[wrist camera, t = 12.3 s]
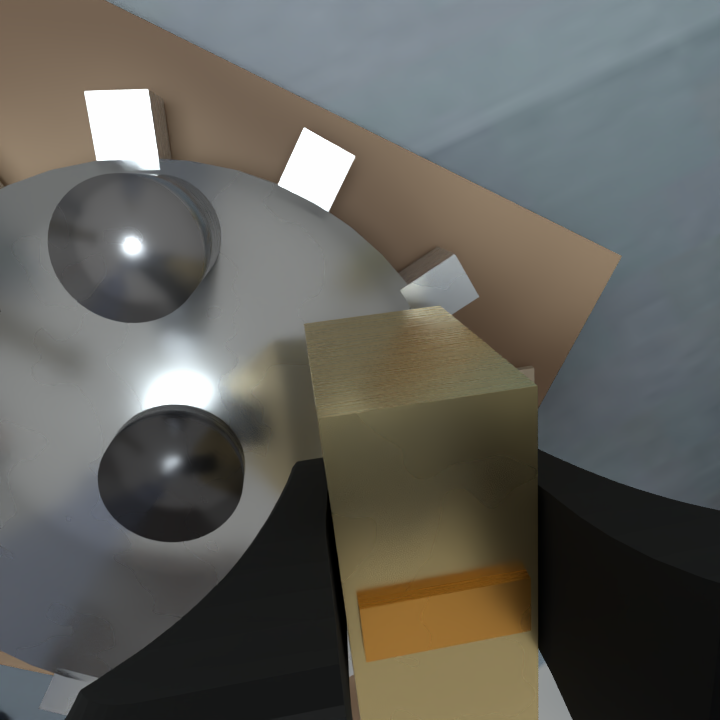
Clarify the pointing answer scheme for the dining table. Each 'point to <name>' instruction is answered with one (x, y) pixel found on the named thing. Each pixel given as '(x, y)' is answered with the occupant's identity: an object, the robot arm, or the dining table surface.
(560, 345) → the sprocket base
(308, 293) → the sprocket
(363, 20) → the dining table surface
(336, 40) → the dining table surface
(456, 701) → the yellow block
